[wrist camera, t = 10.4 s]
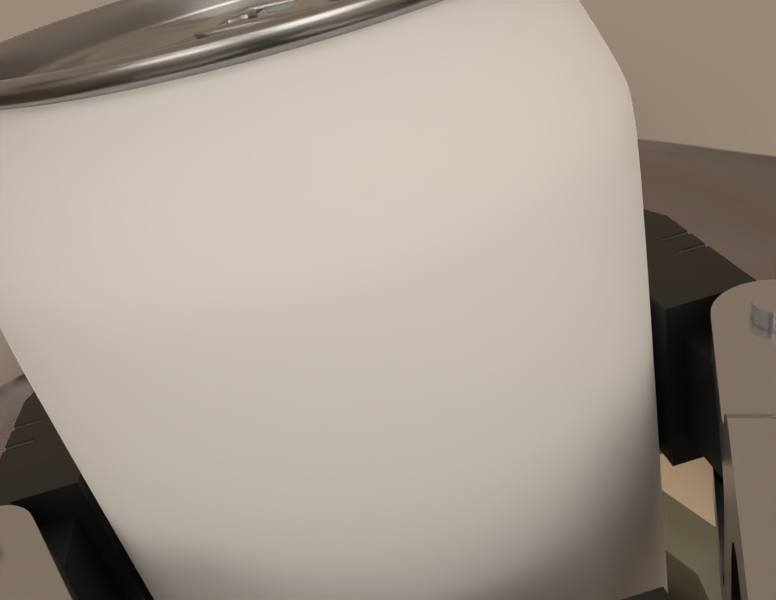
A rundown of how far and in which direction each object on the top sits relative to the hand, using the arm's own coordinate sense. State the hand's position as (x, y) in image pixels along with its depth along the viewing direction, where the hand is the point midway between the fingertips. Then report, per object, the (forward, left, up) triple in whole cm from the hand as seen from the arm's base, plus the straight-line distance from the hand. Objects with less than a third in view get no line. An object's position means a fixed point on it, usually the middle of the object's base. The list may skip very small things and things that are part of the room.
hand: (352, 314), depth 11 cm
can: (0, -2, -7) cm, 8 cm away
